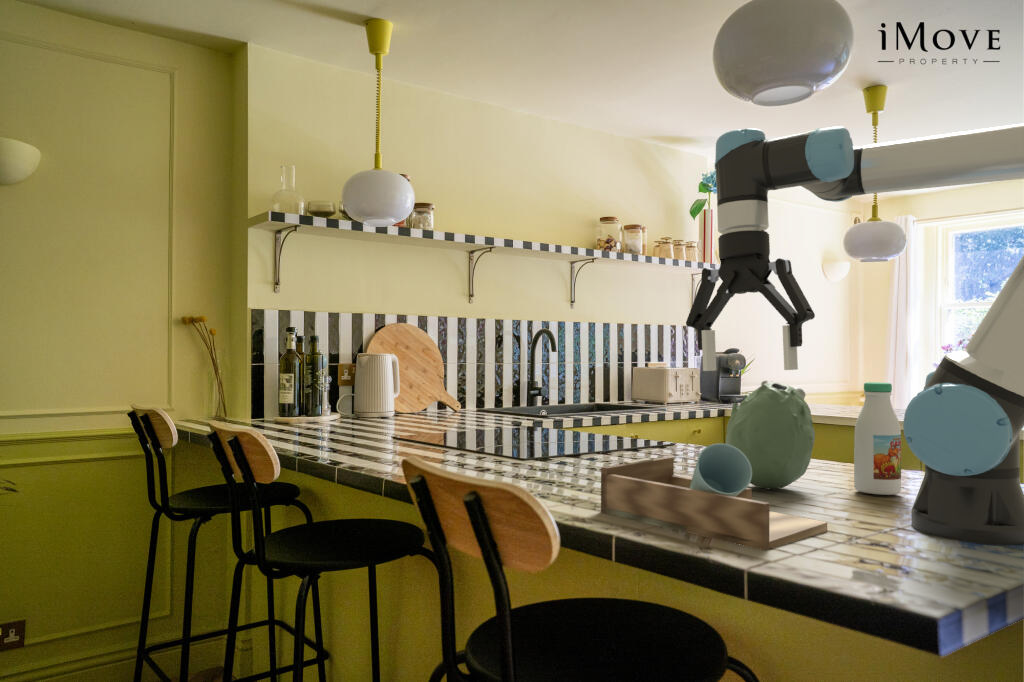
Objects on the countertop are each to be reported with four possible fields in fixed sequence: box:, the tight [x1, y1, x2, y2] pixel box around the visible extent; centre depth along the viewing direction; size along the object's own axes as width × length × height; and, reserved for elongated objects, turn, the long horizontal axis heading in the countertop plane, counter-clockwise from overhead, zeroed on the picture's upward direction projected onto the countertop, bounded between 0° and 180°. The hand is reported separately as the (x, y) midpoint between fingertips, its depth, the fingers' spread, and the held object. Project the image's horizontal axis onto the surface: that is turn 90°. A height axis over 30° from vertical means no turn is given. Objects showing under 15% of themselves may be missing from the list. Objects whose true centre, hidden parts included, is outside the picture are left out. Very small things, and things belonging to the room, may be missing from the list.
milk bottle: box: [853, 381, 902, 496], centre depth 134 cm, size 8×8×20 cm
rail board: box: [600, 456, 828, 551], centre depth 110 cm, size 28×17×8 cm, turn 41°
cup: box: [690, 442, 752, 497], centre depth 106 cm, size 8×8×10 cm
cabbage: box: [725, 379, 816, 490], centre depth 137 cm, size 16×19×20 cm
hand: (748, 370), depth 112 cm, fingers open, 13 cm apart
